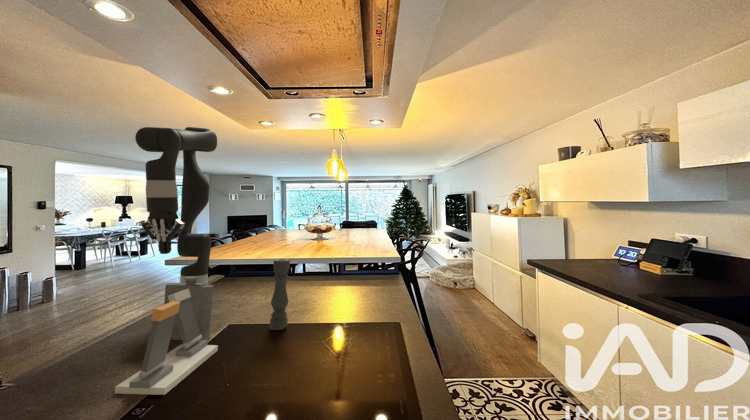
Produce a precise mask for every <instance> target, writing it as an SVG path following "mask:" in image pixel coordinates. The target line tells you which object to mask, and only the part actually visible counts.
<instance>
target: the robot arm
mask: <svg viewBox="0 0 750 420" xmlns="http://www.w3.org/2000/svg"><path fill="white" fill-rule="evenodd" d="M134 138H135V142H136V144H137V146H138V147H139V148H140V149H142V150H143V151H145V152H150V153H162V154H161V156H160V157H159V158H156V159H151V160H148V161H147V162H146V163H145V180H146V181H145V200H146V201H145V202H146V203H145V204H146V211H147V212H148V214H149V215H148V217H147V219H148V220H147V221H145V222H142V223H141V224H140V226H141V228H142V229H143V230H144V232H146V234H147V235H148V236H149V237H150V239H151V240H155V241H157V242H158V252H159V253H160V254H161V255H167V254H170V253H171V251H172V240H175V239H177V243H176V248H177V249H176V251H177V254H178V256H179V257H183V258H197V259H196V261H195V262H194V263H191V264H188V265H185V266H183V267H181V269H180V276H179V283H186V280H185V277H192V276H196V277H198V280H196V281H197V283H202V284H207V285H208V278H209V277H208V275H209V266H210V257H211V256H210V255H211V250H212V249H211V248H212V237H211V235H209V234H208V233H192V230H193V225H194V224H195V223H194V222H195V221H196V219H197V218H198V217H199V215H200V214H201V213H202V212H203V210H204V209H206V206H207V205H208V203H209V201H210V200H209V199H210V183H209V181H208V179H207V178H206V176H205V174H204V173H203V171H202V170H201V168H200V166H199V164H198V162H197V156H196V152H201V153H203V152H204V153H212V152H214V151H215V150H216V149H217V147H218V136H217V133H215V131H214V130H212V129H210V128H205V127H193V126H187V127H185V128H184V129H180V128H170V127H153V126H151V127H150V126H144V127H141V128H139V129H138V130H137V132H136V133H135V137H134ZM181 151H182V153H183V154H182V159H183V162H182V163H183V164H182V167H183V171H182V182H181V183H182V185H181V201H180V203H181V204H180V205H181V209H180V217H179V215H178V211H179V202H178V201H179V199H178V197H179V195H178V185H177V179H176V178H177V176H176V166H177V161H178V157H179V154H180V152H181ZM179 218H180V219H179Z"/></svg>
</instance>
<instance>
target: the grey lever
mask: <svg viewBox="0 0 750 420" xmlns="http://www.w3.org/2000/svg"><path fill="white" fill-rule="evenodd" d="M190 297H191V295H190V292H189V289H186V290H183V291H180V292H177V293H174V294H171V295H169V296H168V299H169V302H172V301H176V302H181V303H180V307H179V311H178V313H177V314H176V320H177V324H178V327H179V331H180V334H181V338H182V340H181V341H182V344H183V348H184V349H187V348H189V347H190V346H192V345H193V344H195V343H196V342H197V341H199V340H200V339H202V335H201V334H200V331H199V328H198V324H197V321H196V317H195V314H194V310H193V307H192V304H191V300H190Z"/></svg>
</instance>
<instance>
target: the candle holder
mask: <svg viewBox="0 0 750 420" xmlns="http://www.w3.org/2000/svg"><path fill="white" fill-rule="evenodd" d="M290 261H291V260H290V259H288V258H276V259H273V271H274V274H275V275H273V280H274V282H275V283H274V284H275V285H274V289H273V295H272V297H271V301H270V304H271V307H272V310H273V311H272V313H271V315H270V319H269V330H270V329H281V328H284V327H286V326H287V327H288V322H289V321H288V320H289V319H288V314H287V312H286V308H287V307H288V304H289V298H288V292H287V291H288V290H287V279H289V275H288V272H289V269H290V266H291V265H290V263H291V262H290Z"/></svg>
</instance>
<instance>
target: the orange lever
mask: <svg viewBox="0 0 750 420" xmlns="http://www.w3.org/2000/svg"><path fill="white" fill-rule="evenodd" d="M180 303H181V302H176V301H172V302H170V303H167V304H165V305H164V304H163V305H159V306H157V307H155V308H153V311H152V315H151V321H152V324H151V327H150V332H149V336H148V339H147V344H146V348H145V354H144V356H143V362H142V365H141V369H140V370H141V372H140V373H139V378H141V379H143V378H145V377H146V376H148V375H149V374H151V373H152V372H154V371H155V370H157V369H158V368H160V367H161V366H162V365H164V364H165V363H166V355H167V353H168V350H169V346H170V342H171V340H170V338H171V334H172V329H173V325H174V321H175V317H176V314H177V313H178V311H179V307H180Z"/></svg>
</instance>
